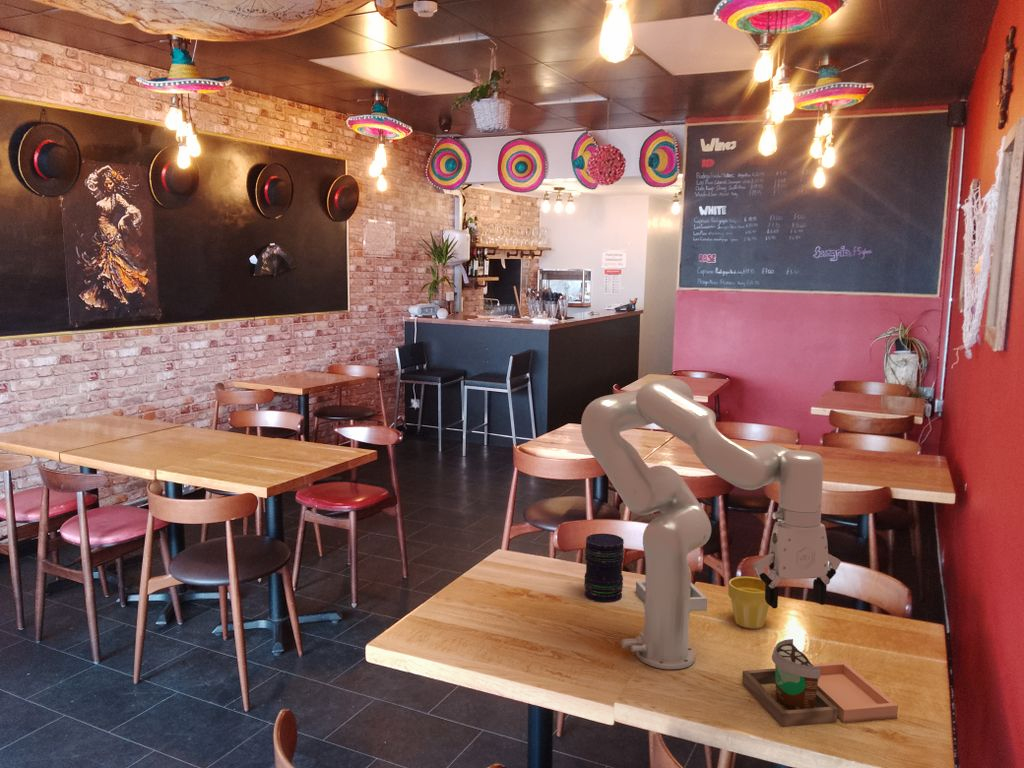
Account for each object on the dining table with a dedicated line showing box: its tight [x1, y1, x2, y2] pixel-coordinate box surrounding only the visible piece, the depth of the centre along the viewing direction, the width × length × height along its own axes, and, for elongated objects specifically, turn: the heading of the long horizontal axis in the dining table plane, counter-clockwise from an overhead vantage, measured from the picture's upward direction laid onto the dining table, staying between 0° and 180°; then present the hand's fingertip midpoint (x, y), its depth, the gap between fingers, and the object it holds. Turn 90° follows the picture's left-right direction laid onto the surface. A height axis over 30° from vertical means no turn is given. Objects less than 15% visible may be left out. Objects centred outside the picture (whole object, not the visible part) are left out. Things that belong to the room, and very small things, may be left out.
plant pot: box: [727, 576, 770, 630], centre depth 185 cm, size 10×10×10 cm
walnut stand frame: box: [741, 667, 838, 728], centre depth 151 cm, size 11×16×2 cm
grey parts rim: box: [635, 580, 708, 612], centre depth 198 cm, size 14×13×3 cm
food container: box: [771, 638, 820, 710], centre depth 150 cm, size 12×6×10 cm, turn 5°
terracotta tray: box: [811, 661, 899, 724], centre depth 153 cm, size 11×17×2 cm, turn 10°
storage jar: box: [583, 533, 625, 604], centre depth 200 cm, size 10×10×15 cm
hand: (795, 603), depth 148 cm, fingers open, 9 cm apart
